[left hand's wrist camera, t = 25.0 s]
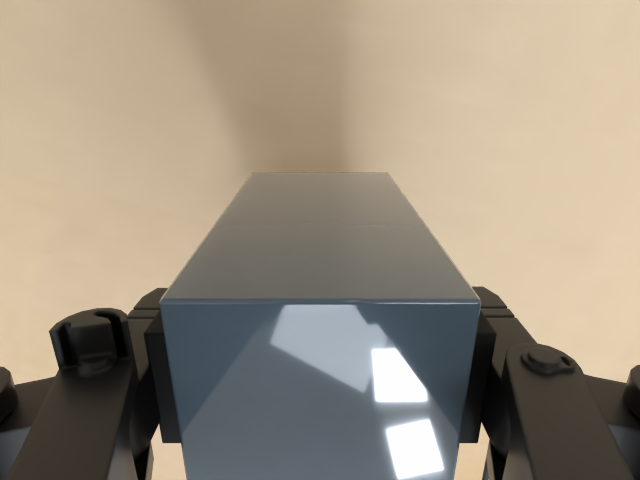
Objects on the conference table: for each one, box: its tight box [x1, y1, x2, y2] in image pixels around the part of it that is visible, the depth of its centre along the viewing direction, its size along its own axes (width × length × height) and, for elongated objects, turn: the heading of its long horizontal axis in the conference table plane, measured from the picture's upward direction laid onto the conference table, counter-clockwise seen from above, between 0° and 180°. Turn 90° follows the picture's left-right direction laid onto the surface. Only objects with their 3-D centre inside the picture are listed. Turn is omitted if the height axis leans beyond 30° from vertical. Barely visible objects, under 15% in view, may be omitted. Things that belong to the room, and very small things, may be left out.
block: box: [159, 173, 481, 480], centre depth 12 cm, size 5×5×10 cm
